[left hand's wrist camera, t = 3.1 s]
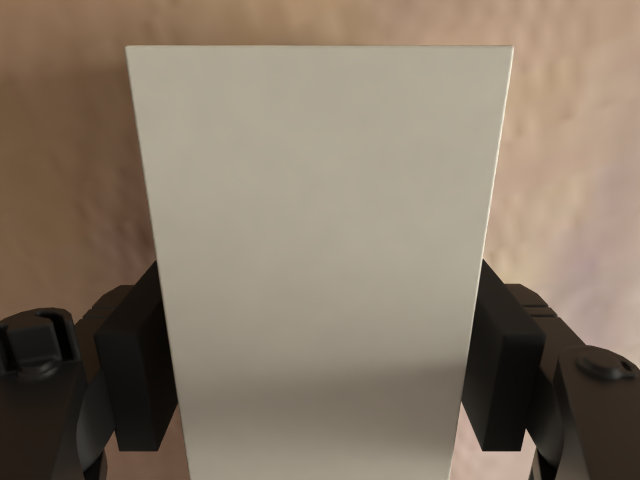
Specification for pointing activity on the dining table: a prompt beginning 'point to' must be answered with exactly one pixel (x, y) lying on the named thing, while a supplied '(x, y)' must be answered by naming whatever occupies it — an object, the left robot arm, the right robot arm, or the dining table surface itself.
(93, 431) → the left robot arm
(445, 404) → the beam
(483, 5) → the dining table surface
